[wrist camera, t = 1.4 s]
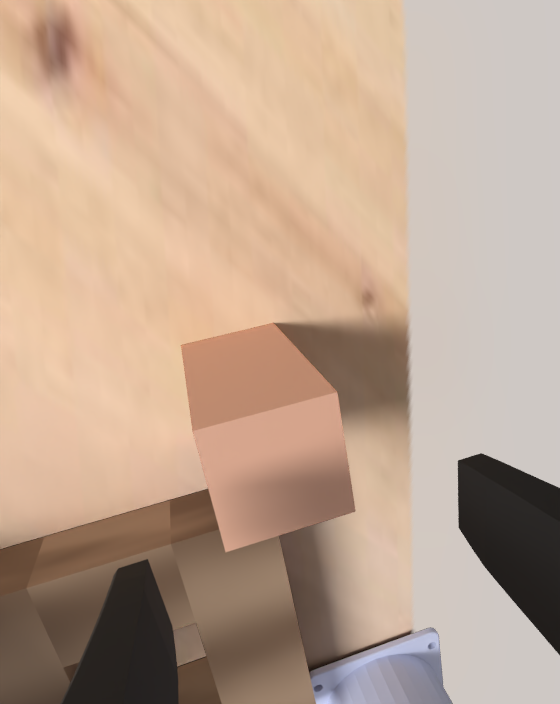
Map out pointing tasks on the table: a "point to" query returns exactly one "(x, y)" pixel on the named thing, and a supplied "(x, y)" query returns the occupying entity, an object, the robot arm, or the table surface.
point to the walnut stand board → (178, 596)
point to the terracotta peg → (265, 435)
